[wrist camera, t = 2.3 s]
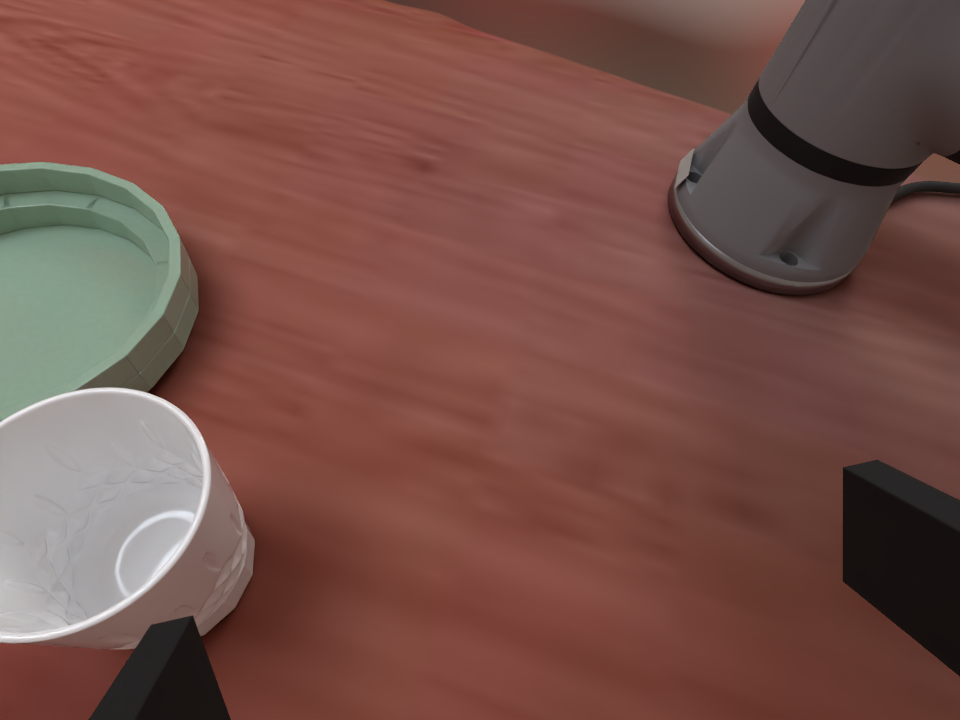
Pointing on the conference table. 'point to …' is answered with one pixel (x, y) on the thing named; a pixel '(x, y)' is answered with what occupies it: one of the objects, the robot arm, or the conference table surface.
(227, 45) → the conference table surface
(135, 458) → the white cup
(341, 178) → the conference table surface
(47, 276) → the basin
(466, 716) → the conference table surface
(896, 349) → the conference table surface
